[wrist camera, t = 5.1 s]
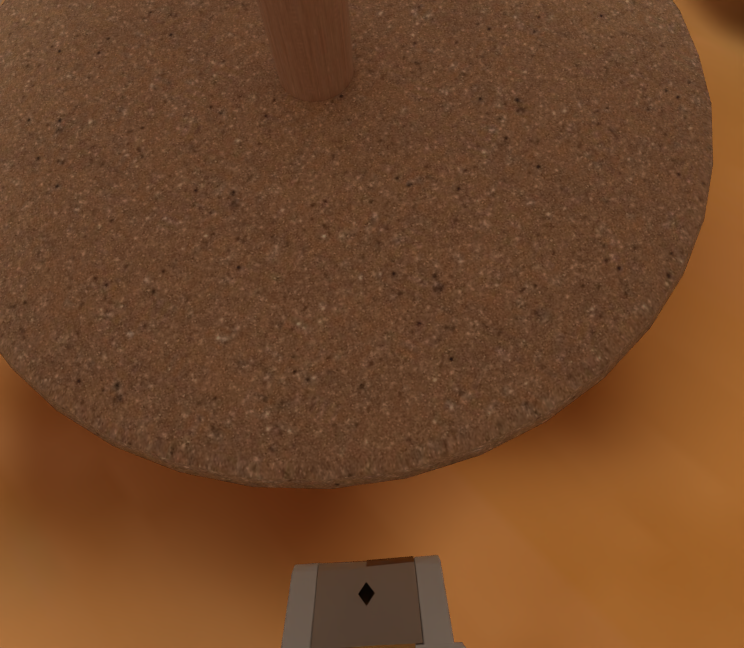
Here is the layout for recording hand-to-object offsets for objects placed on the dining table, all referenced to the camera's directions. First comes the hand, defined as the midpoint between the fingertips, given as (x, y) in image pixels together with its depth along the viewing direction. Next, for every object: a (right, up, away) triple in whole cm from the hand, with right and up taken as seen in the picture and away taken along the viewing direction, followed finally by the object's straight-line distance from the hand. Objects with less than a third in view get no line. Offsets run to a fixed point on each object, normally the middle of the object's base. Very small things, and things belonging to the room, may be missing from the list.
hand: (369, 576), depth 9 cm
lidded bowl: (0, +7, +7) cm, 9 cm away
